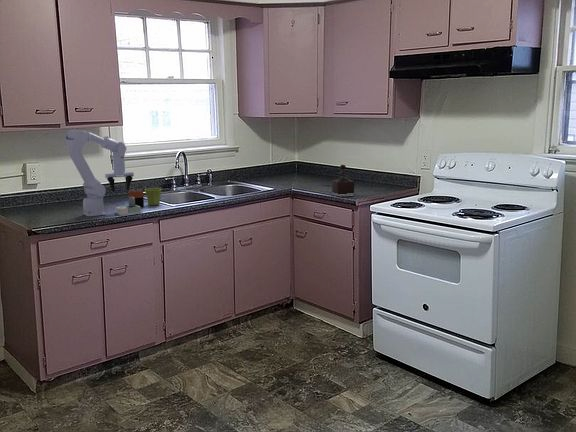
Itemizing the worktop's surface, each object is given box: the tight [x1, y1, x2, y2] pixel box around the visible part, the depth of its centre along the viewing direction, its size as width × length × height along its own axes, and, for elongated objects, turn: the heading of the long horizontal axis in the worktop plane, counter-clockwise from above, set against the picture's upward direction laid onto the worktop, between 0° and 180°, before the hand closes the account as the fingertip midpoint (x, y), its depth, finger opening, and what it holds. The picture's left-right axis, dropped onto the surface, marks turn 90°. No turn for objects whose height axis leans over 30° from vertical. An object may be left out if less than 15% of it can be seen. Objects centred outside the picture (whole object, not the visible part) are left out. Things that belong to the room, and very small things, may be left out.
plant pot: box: [144, 187, 163, 206], centre depth 324 cm, size 9×9×9 cm
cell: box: [127, 197, 135, 208], centre depth 301 cm, size 3×3×8 cm
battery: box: [128, 188, 145, 209], centre depth 315 cm, size 4×7×10 cm, turn 119°
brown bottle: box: [331, 164, 355, 194], centre depth 355 cm, size 16×11×18 cm
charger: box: [114, 205, 143, 216], centre depth 301 cm, size 11×8×3 cm
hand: (120, 190), depth 307 cm, fingers open, 7 cm apart
